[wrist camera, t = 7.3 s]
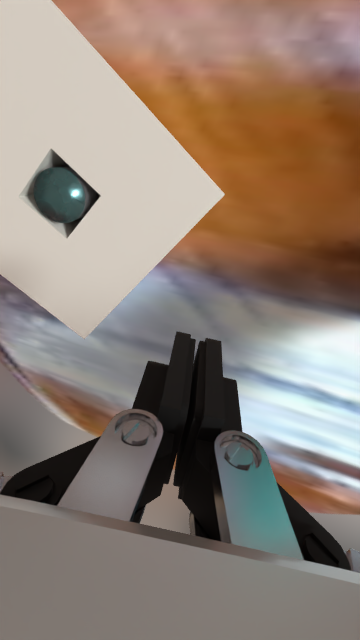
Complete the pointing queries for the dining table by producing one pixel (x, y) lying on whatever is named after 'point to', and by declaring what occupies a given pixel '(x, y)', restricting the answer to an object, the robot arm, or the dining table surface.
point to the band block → (84, 171)
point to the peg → (63, 194)
